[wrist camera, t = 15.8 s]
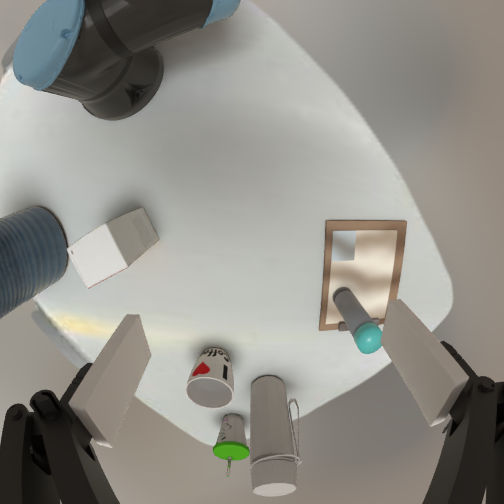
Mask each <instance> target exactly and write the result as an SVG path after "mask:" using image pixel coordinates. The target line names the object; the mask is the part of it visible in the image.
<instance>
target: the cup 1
mask: <svg viewBox="0 0 504 504" xmlns="http://www.w3.org/2000/svg"><path fill="white" fill-rule="evenodd" d="M185 392H186V395H187V397H188V398H189V399H190V400H191V401H192V402H193V403H195V404H197V405H199V406H201V407H204V408H210V409H218V408H222V407H225V406H227V405H229V404H230V403H231V402H232V400H233V398H234V378H233V372H232V366H231V362H230V360H229V357H228V355H227V353H226V352H225V351H223V350H221V349H219V348H209V349H207V350H206V351H205V352H204V353H203V354H202V355H201V356H200V357H199V358H198V360H197V362H196V364H195V365H194V367H193V369H192V371H191V374H190V376H189V379H188V382H187V385H186V388H185Z"/></svg>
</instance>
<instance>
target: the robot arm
mask: <svg viewBox="0 0 504 504" xmlns="http://www.w3.org/2000/svg"><path fill="white" fill-rule="evenodd" d="M239 3H240V0H47V1H46V2H45V3H43V4H42V5H41V6H40V7H39V8H38V9H37V11H36V12H35V13H34V14H33V15H32V17H31V18H30V19H29V21H28V22H27V24H26V26H25V27H24V29H23V31H22V33H21V35H20V37H19V39H18V42H17V44H16V47H15V51H14V56H13V71H14V74H15V77H16V79H17V80H18V81H19V82H20V83H22V84H24V85H27V86H30V87H33V89H35V90H38V91H44V92H48V93H53V94H57V95H61V96H65V97H69V98H72V99H76V100H78V101H79V102H81V103H82V105H83V106H84V108H85V109H86V110H87V111H88V112H89V113H90V114H92V115H93V116H95V117H98V118H101V119H105V120H120V119H124V118H127V117H129V116H131V115H133V114H135V113H136V112H138V111H139V110H141V109H142V108H143V107H144V106H145V105H146V104H147V103H148V102H149V101H150V100H151V99H152V97H153V96H154V95H155V93H156V91H157V90H158V88H159V85H160V83H161V80H162V76H163V61H162V58H161V56H160V54H159V52H158V51H157V50H156V49H155V48H154V47H153V46H154V45H156V44H159V43H161V42H163V41H165V40H168V39H170V38H173V37H175V36H178V35H180V34H183V33H185V32H188V31H191V30H193V29H196V28H199V29H201V28H204V27H206V26H207V25H208V24H211V23H214V22H217V21H220V20H223V19H226V18H228V17H230V16H231V15H232V14H233V13H234V12H235V11H236V10H237V8H238V6H239ZM380 343H381V344H382V346H383V347H384V349H385V351H386V352H387V354H388V355H389V357H390V359H391V360H392V362H393V363H394V365H395V367H396V368H397V370H398V372H399V373H400V375H401V377H402V378H403V380H404V381H405V383H406V385H407V387H408V388H409V390H410V392H411V393H412V395H413V397H414V398H415V400H416V402H417V404H418V406H419V407H420V409H421V411H422V413H423V415H424V416H425V418H426V420H427V422H428V423H429V425H430V427H431V426H434V425H436V424H438V423H441V422H443V421H444V420H445V418H446V417H447V415H448V414H449V413H450V415H451V417H452V418H451V420H450V421H449V423H448V424H447V426H446V427H445V428H444V430H443V432H442V433H445V431H446V430H447V429H448V430H447V434H446V438H445V441H444V445H443V448H442V452H441V455H440V458H439V462H438V465H437V468H436V471H435V473H434V476H433V479H432V482H431V484H430V487H429V490H428V492H427V494H426V497H425V499H424V501H423V503H422V504H482V500H483V497H484V493H485V489H486V504H504V382H497V383H495V382H494V381H493V380H492V379H490V378H488V377H485V376H480V377H478V376H477V375H476V374H475V372H474V371H473V370H472V369H471V368H470V366H469V365H468V364H467V363H466V362H465V360H464V359H462V357H461V356H460V355H459V354H457V351H456V350H455V349H454V348H453V347H452V346H451V345H449V344H448V343H446V342H445V341H442V342H439V341H438V340H437V338H436V337H435V336H434V335H433V334H432V333H431V332H430V330H429V329H428V328H427V327H426V326H425V325H424V324H423V323H422V322H421V320H420V319H419V318H418V317H417V316H416V315H415V314H414V313H413V312H412V311H411V310H410V309H409V308H408V307H407V305H406V304H405V303H404V302H403V301H402V300H401V299H398V300H391V301H389V303H388V308H387V313H386V318H385V323H384V327H383V332H382V336H381V340H380ZM150 357H151V353H150V349H149V346H148V343H147V340H146V336H145V333H144V330H143V326H142V323H141V319H140V315H132V314H127V315H126V316H125V318H124V319H123V320H122V322H121V323H120V325H119V326H118V328H117V329H116V330H115V332H114V333H113V335H112V336H111V338H110V339H109V341H108V342H107V344H106V345H105V346H104V348H103V349H102V351H101V352H100V354H99V355H98V357H97V358H96V360H95V362H94V363H87V364H86V365H85V366H83V367H82V368H81V369H80V370H79V372H78V373H77V375H76V378H74V379H73V381H72V384H70V386H69V387H68V389H67V390H66V392H65V393H64V395H63V396H62V398H61V400H60V401H59V400H58V399H57V397H56V395H55V394H54V393H53V392H52V391H50V390H41V391H39V392H37V393H35V394H34V395H33V396H32V398H31V400H30V406H31V407H32V409H33V410H34V412H29V411H28V409H27V408H26V407H25V406H24V405H23V404H14V405H12V406H11V407H10V408H9V409H8V410H7V413H6V416H5V421H4V427H3V431H2V437H1V444H0V504H60V500H61V503H62V504H120V503H119V501H118V499H117V498H116V496H115V494H114V492H113V490H112V488H111V486H110V484H109V482H108V480H107V478H106V476H105V474H104V472H103V470H102V468H101V465H100V463H99V461H98V459H97V456H96V454H95V451H94V449H93V447H92V445H91V444H90V441H91V438H92V437H93V438H94V440H95V441H96V442H97V444H99V445H103V446H107V447H110V448H113V447H114V444H115V441H116V439H117V436H118V434H119V431H120V428H121V426H122V423H123V421H124V418H125V416H126V413H127V411H128V409H129V406H130V404H131V401H132V399H133V396H134V394H135V392H136V389H137V387H138V385H139V382H140V380H141V378H142V375H143V373H144V371H145V368H146V366H147V364H148V362H149V359H150Z"/></svg>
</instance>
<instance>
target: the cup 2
mask: <svg viewBox="0 0 504 504" xmlns="http://www.w3.org/2000/svg"><path fill="white" fill-rule="evenodd" d="M213 452H214V454H215V455H216V456H217V457H219V458H221V459H225V460H228V469H227V477H229V474H230V464H231V460H241V459H244V458H246V457H247V456H248V455H249V452H250V451H249V447H247V444H246V437H245V431H244V424H243V418H242V417H241V416H240V415H237V414H228V415H225V417H224V419H223V422H222V426H221V429H220V432H219V436H218V439H217V443H216V445H215V446H214V447H213Z"/></svg>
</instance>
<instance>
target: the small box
mask: <svg viewBox="0 0 504 504" xmlns="http://www.w3.org/2000/svg"><path fill="white" fill-rule="evenodd" d="M157 241H159V238H158V236H157V234H156V232H155V230H154V228H153V226H152V225H151V223H150V220H149V218H148V216H147V214H146V213H145V211H144V208H143V207H141V208H138V209H136V210H134V211H131V212H129V213H126V214H124V215H122V216H119V217H117V218H115V219H112V220H110V221H108V222H106V223H104V224H102V225H101V226H99V227H97V228H96V229H94V230H93V231H91V232H89V233H88V234H86V235H85V236H83V237H82V238H80V239H79V240H78V241H77V242H75V243H74V244H72V245H71V246H70V247H68V248H67V251H68V253H69V256H70V258H71V260H72V261H73V263H74V265H75V267H76V269H77V271H78V273H79V274H80V276H81V278H82V280H83V281H84V283H85V285H86V286H87V288H90V287H92V286H94V285H96V284H98V283H100V282H102V281H103V280H105V279H107V278H109V277H111V276H113V275H115V274H116V273H118V272H120V271H122V270H124V269H126V268H128V267H129V266H130V265H131V264H132V263H133V262H134V261H135V260H137V259H138V258H139V257H140V256H141V255H142V254H143V253H144V252H146V251H147V250H148V249H149V248H150V247H151V246H153V245H154V244H155V243H156V242H157Z"/></svg>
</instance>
